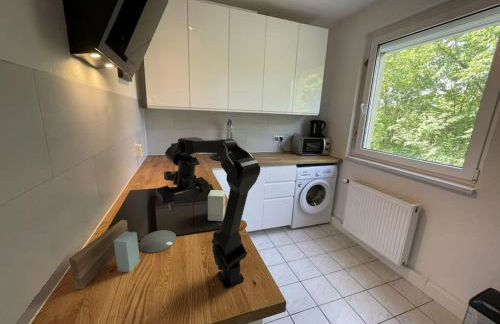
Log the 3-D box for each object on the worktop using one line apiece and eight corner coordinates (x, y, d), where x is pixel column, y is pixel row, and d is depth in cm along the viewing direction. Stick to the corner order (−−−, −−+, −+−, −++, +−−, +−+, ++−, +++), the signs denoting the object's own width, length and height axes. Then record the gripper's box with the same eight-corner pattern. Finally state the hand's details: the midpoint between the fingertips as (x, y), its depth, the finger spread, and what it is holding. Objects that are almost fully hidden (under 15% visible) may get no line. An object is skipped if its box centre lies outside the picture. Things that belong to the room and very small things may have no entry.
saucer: (179, 245, 76) (179, 244, 76) (140, 257, 70) (140, 255, 69) (172, 228, 87) (172, 227, 87) (138, 236, 80) (138, 235, 80)
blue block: (139, 261, 68) (136, 232, 65) (129, 272, 63) (126, 242, 60) (128, 259, 68) (125, 231, 66) (117, 271, 63) (113, 240, 61)
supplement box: (223, 221, 94) (223, 196, 91) (207, 220, 94) (207, 195, 91) (225, 213, 101) (225, 190, 98) (210, 212, 101) (210, 189, 98)
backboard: (129, 243, 76) (126, 220, 73) (81, 289, 57) (75, 259, 54) (124, 243, 76) (121, 219, 74) (75, 288, 57) (69, 258, 54)
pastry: (244, 222, 95) (244, 214, 94) (249, 230, 89) (249, 222, 88) (224, 225, 92) (224, 217, 91) (228, 233, 86) (228, 225, 85)
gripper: (196, 158, 82) (191, 189, 88) (149, 166, 68) (148, 203, 75) (212, 170, 76) (207, 203, 82) (164, 181, 62) (162, 220, 68)
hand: (182, 206), depth 77 cm, fingers open, 9 cm apart
